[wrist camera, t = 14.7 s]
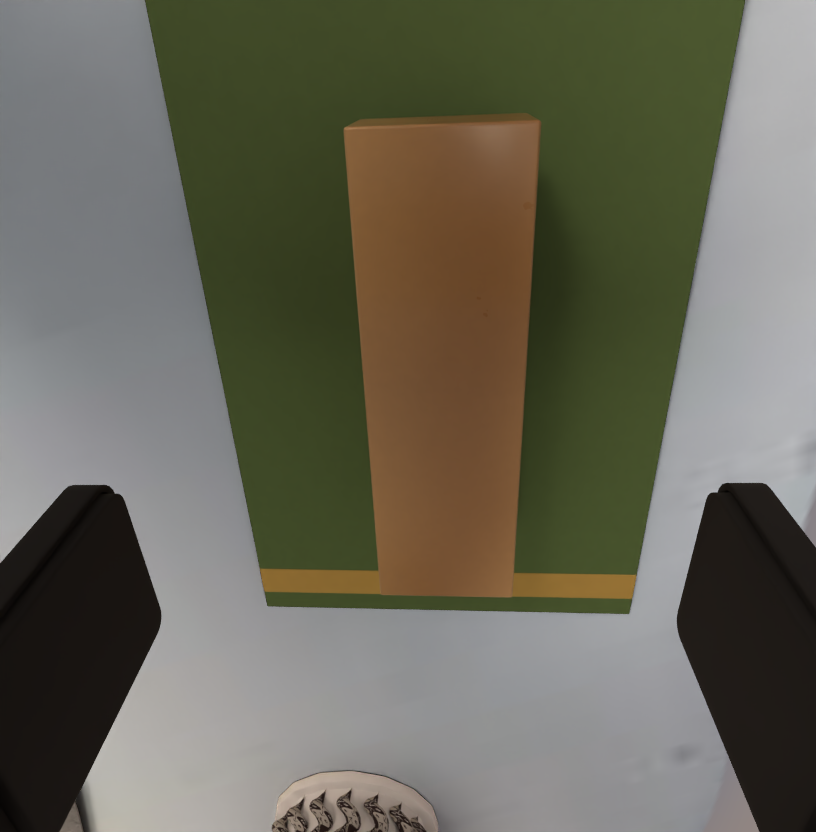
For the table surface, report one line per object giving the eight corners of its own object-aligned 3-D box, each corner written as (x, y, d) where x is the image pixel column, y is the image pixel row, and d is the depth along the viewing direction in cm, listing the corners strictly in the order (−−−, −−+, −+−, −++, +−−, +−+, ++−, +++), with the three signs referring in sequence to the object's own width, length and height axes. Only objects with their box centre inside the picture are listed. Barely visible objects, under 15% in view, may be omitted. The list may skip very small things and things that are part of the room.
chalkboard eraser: (390, 521, 22) (380, 596, 19) (364, 115, 16) (342, 126, 13) (503, 522, 22) (512, 598, 19) (523, 110, 15) (541, 119, 12)
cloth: (129, -104, 14) (122, -108, 14) (767, -145, 13) (774, -150, 13) (269, 600, 25) (267, 607, 24) (627, 608, 24) (629, 614, 23)
